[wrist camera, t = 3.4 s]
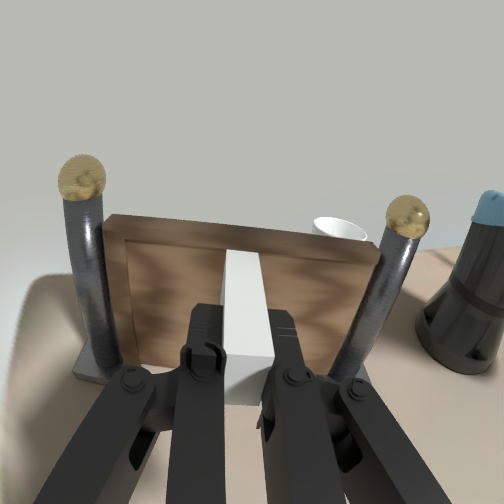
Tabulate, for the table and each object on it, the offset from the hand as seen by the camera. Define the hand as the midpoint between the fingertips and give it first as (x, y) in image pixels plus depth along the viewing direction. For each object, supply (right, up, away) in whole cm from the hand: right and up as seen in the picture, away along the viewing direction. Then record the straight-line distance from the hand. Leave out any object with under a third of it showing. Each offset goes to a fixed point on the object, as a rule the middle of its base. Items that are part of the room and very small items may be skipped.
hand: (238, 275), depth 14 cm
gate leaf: (-2, -10, +12) cm, 16 cm away
